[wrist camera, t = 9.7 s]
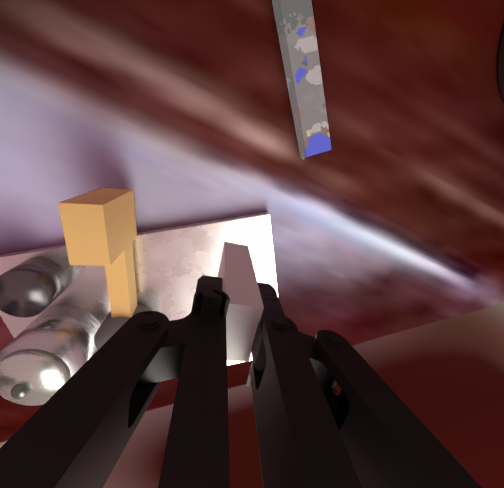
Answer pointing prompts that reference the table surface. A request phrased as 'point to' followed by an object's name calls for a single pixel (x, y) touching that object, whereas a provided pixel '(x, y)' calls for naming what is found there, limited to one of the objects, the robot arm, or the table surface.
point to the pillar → (303, 74)
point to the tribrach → (107, 296)
